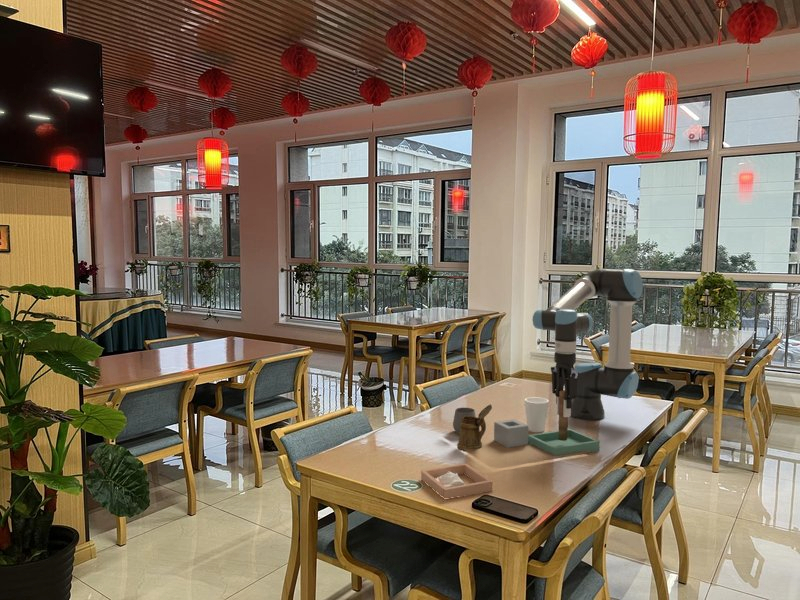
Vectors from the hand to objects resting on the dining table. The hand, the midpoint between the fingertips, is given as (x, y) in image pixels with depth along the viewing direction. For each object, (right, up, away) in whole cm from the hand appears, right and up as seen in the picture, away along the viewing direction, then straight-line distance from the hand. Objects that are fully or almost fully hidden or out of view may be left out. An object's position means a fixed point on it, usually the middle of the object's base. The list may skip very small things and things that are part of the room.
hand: (563, 415), depth 213 cm
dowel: (0, -9, +1) cm, 9 cm away
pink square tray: (-43, -15, -33) cm, 56 cm away
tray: (0, -12, +1) cm, 12 cm away
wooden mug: (-33, -12, -1) cm, 35 cm away
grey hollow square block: (-19, -12, +4) cm, 22 cm away
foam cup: (-6, -11, +19) cm, 23 cm away
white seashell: (-45, -15, -34) cm, 58 cm away
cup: (-34, -11, +16) cm, 39 cm away
